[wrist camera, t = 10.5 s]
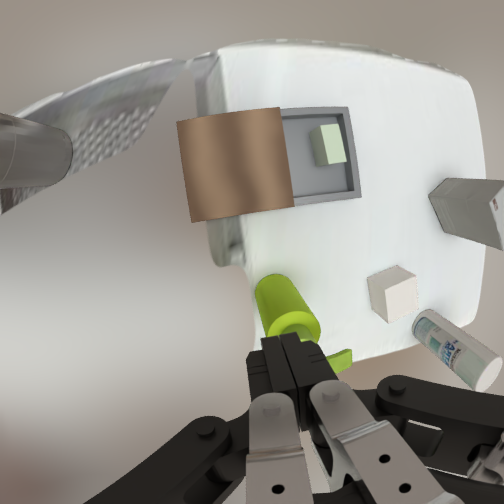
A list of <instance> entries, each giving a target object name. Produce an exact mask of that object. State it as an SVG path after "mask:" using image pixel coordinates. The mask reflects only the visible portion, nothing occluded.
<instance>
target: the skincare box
mask: <svg viewBox="0 0 504 504" xmlns="http://www.w3.org/2000/svg"><path fill="white" fill-rule="evenodd" d="M428 197H429V199H430V201H431V203H432V205H433V207H434V209H435V211H436V214H437V216H438V218H439V220H440V223H441V225H442V227H443V230H444V232H445V233H449V234H452V235H456V236H459V237H462V238H466V239H469V240H472V241H475V242H478V243H481V244H485V245H488V246H491V247H494V248H497V249H499V250H502V251H503V250H504V181H502V180H487V179H463V178H447V179H446V180H445V181H443V182H442V183H441V184H440V185H439V186H438V187H437V188H436V189H435V190H434V191H433V192H431V193H430V194H429V195H428Z"/></svg>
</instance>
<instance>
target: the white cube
mask: <svg viewBox="0 0 504 504" xmlns="http://www.w3.org/2000/svg"><path fill="white" fill-rule="evenodd" d="M367 281H368V287H369V293H370V300H371V307H372V310H373V311H375V312H376V313H377V314H378V315H379V316H380V317H381V318H382V319H384V320H385V321H386V322H387V323H388V324H389V323H392V322H394V321H396V320H398V319H400V318H402V317H404V316H406V315H408V314H410V313H412V312H414V311H416V310H418V309H419V305H418V289H417V277H416V275H415V274H413V273H411V272H409V271H407V270H405V269H403V268H401V267H399V266H397V265H396V266H394V267H391V268H389V269H387V270H384V271H382V272H379V273H377V274H374V275H372V276H370V277H367Z"/></svg>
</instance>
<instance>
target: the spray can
mask: <svg viewBox="0 0 504 504" xmlns="http://www.w3.org/2000/svg"><path fill="white" fill-rule="evenodd" d="M412 332H413V335H414V336H415V338H417V339H418V340H419V341H420V342H421V343H422V344H423V345H425V346H426V347H427V348H428V349H429V350H430V351H431V352H432V353H434V354H435V355H436V356H437V357H438V358H439V359H440V360H441V361H442V362H444V363H445V364H446V365H447V366H448V367H449V368H450V369H451V370H452V371H453V372H454V373H456V374H457V375H458V376H459V377H460V378H461V379H462V380H463V381H464V382H465V383H466V384H468V386H469V387H471V388H472V389H473V390H474V391H477V392H483V391H484V390H486V389H487V388H488V387H489V386H490V385H491V384H492V383H493V381H494V380H495V379H496V377H497V375H498V374H499V371H500V369H501V366H502V358H501V357H500V356H499V355H497V354H496V353H495V352H493V351H492V350H490V349H489V348H488V347H486V346H485V345H483V344H482V343H481V342H479V341H478V340H476V339H475V338H473V337H472V336H470V335H469V334H467V333H466V332H464V331H463V330H461V329H460V328H459V327H457V326H456V325H454V324H453V323H451V322H450V321H448V320H447V319H445V318H443V317H442V316H440V315H439V314H437V313H436V312H434V311H433V310H425V311H423V312H421V313H420V314H419V315H418V316H417V318H416V319H415V321H414V323H413V327H412Z"/></svg>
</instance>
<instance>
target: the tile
mask: <svg viewBox="0 0 504 504" xmlns="http://www.w3.org/2000/svg"><path fill="white" fill-rule="evenodd" d="M309 135H310V139H311V143H312V148H313V153H314V157H315V162H316V167H319V166H325V165H332V164H337V163H342V162H347V161H346V156H345V151H344V146H343V142H342V137H341V133H340V129H339V124H330V125H320V126H319V127H317V128H316V129H314V130H312V131H311V132H309Z"/></svg>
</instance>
